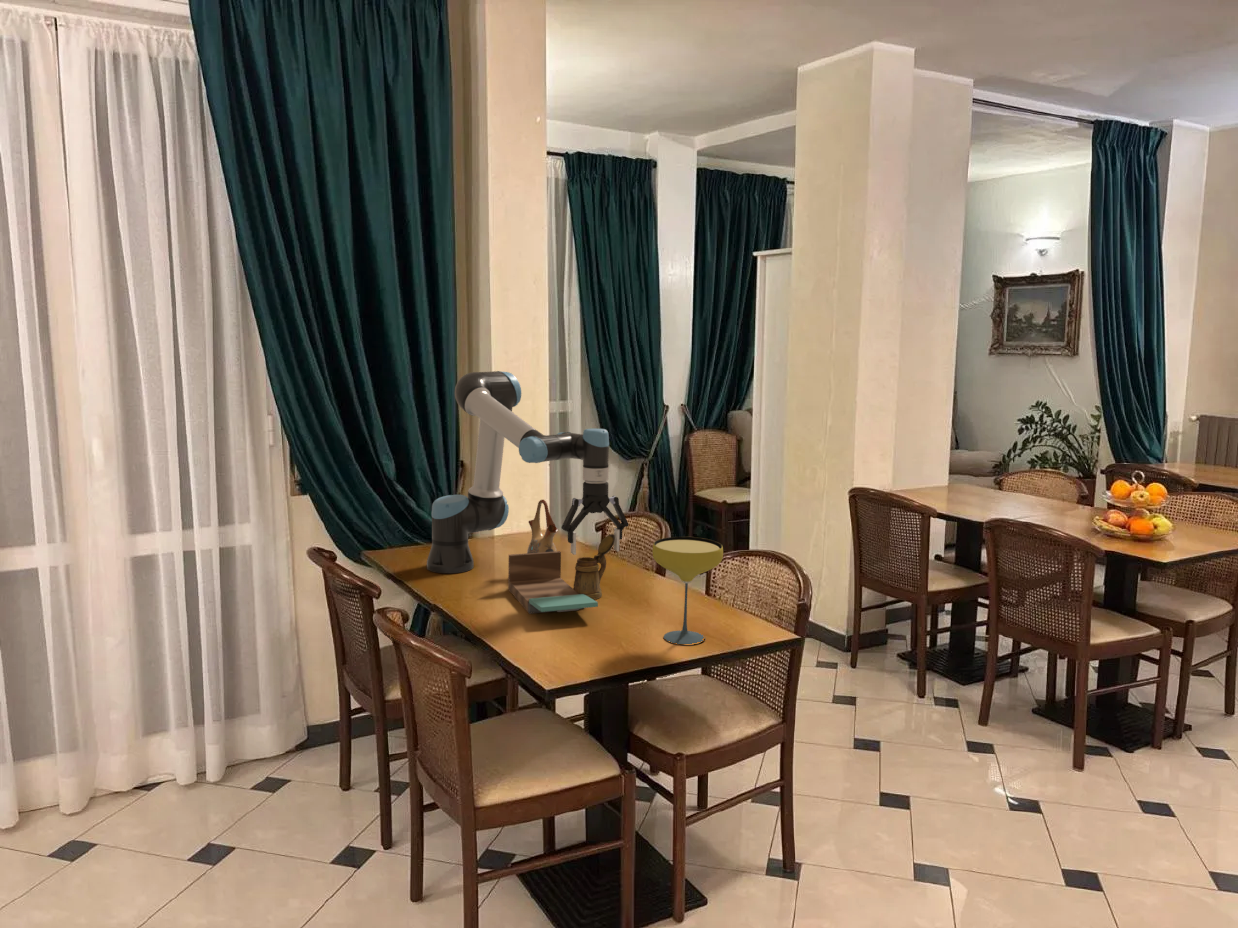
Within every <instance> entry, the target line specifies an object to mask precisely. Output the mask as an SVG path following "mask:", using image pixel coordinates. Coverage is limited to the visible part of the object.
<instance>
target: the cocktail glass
mask: <svg viewBox="0 0 1238 928" xmlns="http://www.w3.org/2000/svg"><path fill="white" fill-rule="evenodd" d="M651 552H652V558H653V560H654V561H655V562H656V563H657V564H658V565H660V567H662V568H664V569H666V570H667V571H670V572H671V573H673V574H675V575H677V576H678V578H679V579H680V580H681V581H682V583H683V584H684V585H685V586H684V607H683V608H684V610H683V624H682V628H681V629H682V630H681V631H680V630H672V631H669V632H666V633H665V634H664V635H663V639H664V640H665V639H666V640H667V641H670V642H672V643H677V644H692V643H697V642H701V641H703V640H702V639H703V638H704V637H705V636H704V634H702V633H700V632H697V631H691V630H688V622H687V621H688V620H687V619H688V618H687V617H688V616H687V615H688V587H689V585H688V584H690V583H691V582H692V581H693V580H694V579H695V578H696V576H698V575H702V574H703V573H706V572H708V571H711V570H713V569H715V568H716V567H717V566H718V565H720V564H721V562H722V561H723V558H724V547H723V544H722V543H720V542H718V541H715V540H712V539H708V538H703V537H694V536H671V537H670V536H669V537H663V538H660V539H657V540H655V541H654V542H653V544H652V551H651ZM699 633H700V634H699ZM701 634H702V635H701ZM703 636H704V637H703ZM666 640H665V641H666ZM667 641H666V642H667ZM672 643H671V644H672Z"/></svg>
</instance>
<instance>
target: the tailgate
mask: <svg viewBox="0 0 1238 928" xmlns="http://www.w3.org/2000/svg"><path fill="white" fill-rule="evenodd" d="M529 603H530V604H531V605H533V606H534V607H535V608H537V609H538V610H539V611H541V612H542V613H546V612H545V611H553V612H557V613H561V612H571V611H572V612H573V611H574V612H575V611H579V610H580V609H579V608H584V609H585V608H586V609H587V608H597V607H598V606H599V602H598V601H597V600H596V599H595V600H593V599H591V598H590V597H588V596H586V595H584V594H578V595H566V596H555V597H543V598H532V599H529Z"/></svg>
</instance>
